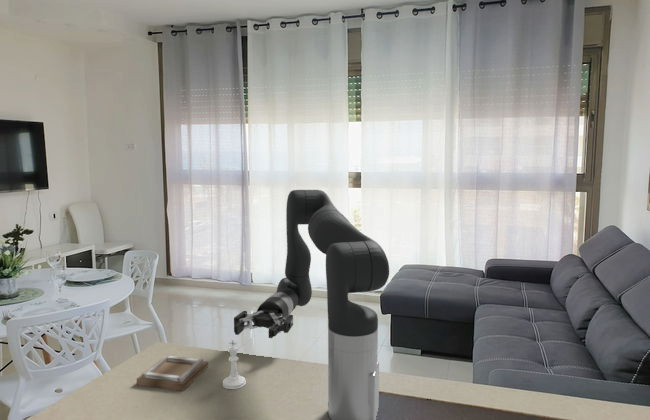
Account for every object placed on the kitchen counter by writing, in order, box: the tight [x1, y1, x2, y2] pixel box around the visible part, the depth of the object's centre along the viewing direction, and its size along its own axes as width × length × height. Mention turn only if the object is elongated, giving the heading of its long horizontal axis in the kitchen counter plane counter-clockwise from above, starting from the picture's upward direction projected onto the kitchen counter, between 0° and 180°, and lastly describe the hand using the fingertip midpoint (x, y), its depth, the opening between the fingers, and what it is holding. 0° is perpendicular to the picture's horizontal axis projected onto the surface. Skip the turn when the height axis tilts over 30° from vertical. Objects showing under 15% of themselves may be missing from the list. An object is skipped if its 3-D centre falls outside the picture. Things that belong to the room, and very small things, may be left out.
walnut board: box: [136, 355, 209, 392], centre depth 107 cm, size 11×11×2 cm
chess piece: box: [222, 338, 247, 390], centre depth 103 cm, size 5×5×10 cm
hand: (253, 332), depth 113 cm, fingers open, 8 cm apart
